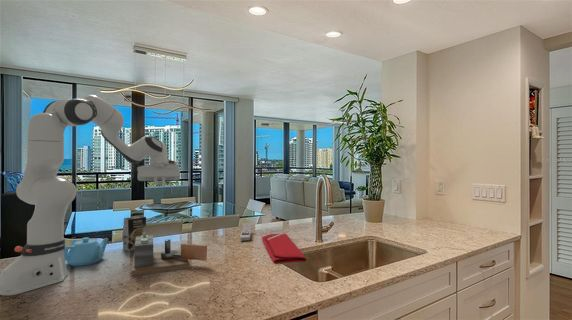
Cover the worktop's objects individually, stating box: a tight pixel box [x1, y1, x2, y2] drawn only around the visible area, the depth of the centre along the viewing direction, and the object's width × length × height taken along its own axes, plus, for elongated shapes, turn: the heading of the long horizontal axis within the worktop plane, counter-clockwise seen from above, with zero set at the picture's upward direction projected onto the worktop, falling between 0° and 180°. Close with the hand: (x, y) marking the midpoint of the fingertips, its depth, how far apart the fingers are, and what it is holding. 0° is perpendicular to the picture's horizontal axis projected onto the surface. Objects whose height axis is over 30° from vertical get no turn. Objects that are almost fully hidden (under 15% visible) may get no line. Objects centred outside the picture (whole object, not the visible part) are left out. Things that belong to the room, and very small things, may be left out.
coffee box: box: [122, 215, 147, 252], centre depth 155 cm, size 9×6×16 cm
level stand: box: [130, 231, 190, 277], centre depth 132 cm, size 22×22×14 cm
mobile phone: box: [239, 222, 252, 243], centre depth 180 cm, size 6×6×25 cm
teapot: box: [64, 236, 109, 267], centre depth 134 cm, size 15×15×11 cm
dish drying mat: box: [261, 233, 308, 264], centre depth 155 cm, size 16×41×4 cm, turn 12°
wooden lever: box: [160, 239, 208, 262], centre depth 133 cm, size 7×22×8 cm, turn 77°
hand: (159, 185), depth 149 cm, fingers closed
